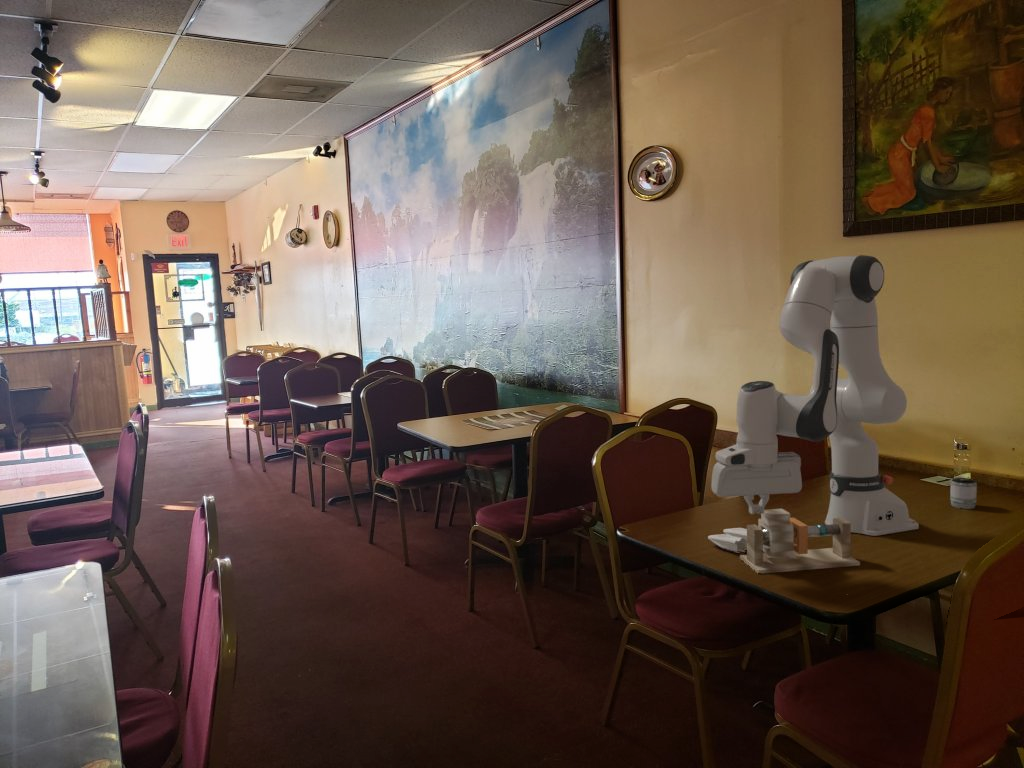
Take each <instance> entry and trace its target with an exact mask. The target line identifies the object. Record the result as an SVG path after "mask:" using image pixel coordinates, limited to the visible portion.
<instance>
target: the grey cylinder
mask: <svg viewBox="0 0 1024 768" xmlns="http://www.w3.org/2000/svg"><path fill="white" fill-rule="evenodd" d="M977 486H978V483H977V482H976V481H975V480H974V479H971V478H968V477H955V478H953V479H951V480H950V492H949V493H950V496H949V497H950V505H951V506H952V507H953V506H954V507H953V508H955V507H956V509H960V508H962V510H972V509H975V508H976V505H977V491H978V487H977Z"/></svg>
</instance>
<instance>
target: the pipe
mask: <svg viewBox="0 0 1024 768" xmlns="http://www.w3.org/2000/svg"><path fill="white" fill-rule="evenodd" d="M807 526H808V538H815V537H816V538H817V537H818V538H819V537H820V538H822V537H827V536H828V537H830V536H832V537H833V535H839V534H840V532H841V530H840V527H839V525H838V524H830V525H826V524H816V525H807ZM793 538H796V539H797V529H796V528H794V527H793ZM767 540H770V531H768V530H767V529H765V530H763V541H767Z"/></svg>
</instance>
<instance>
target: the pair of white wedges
mask: <svg viewBox="0 0 1024 768" xmlns="http://www.w3.org/2000/svg"><path fill="white" fill-rule="evenodd" d="M707 539H708V540H709V541H711V543H714V544H715V545H717V546H718V547H720V548H721V549H723V550H725V549H726V550H725V551H729V550H730V551H729V552H732V551H733V553H736V554H739V553H740V552H737V551H742V552H744V553H745V552H746V551H745V550H747V528H743V527H733V528H724V529H723V533H721V534H720V533H719V534H711V535H708V536H707ZM742 549H744V550H742Z"/></svg>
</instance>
